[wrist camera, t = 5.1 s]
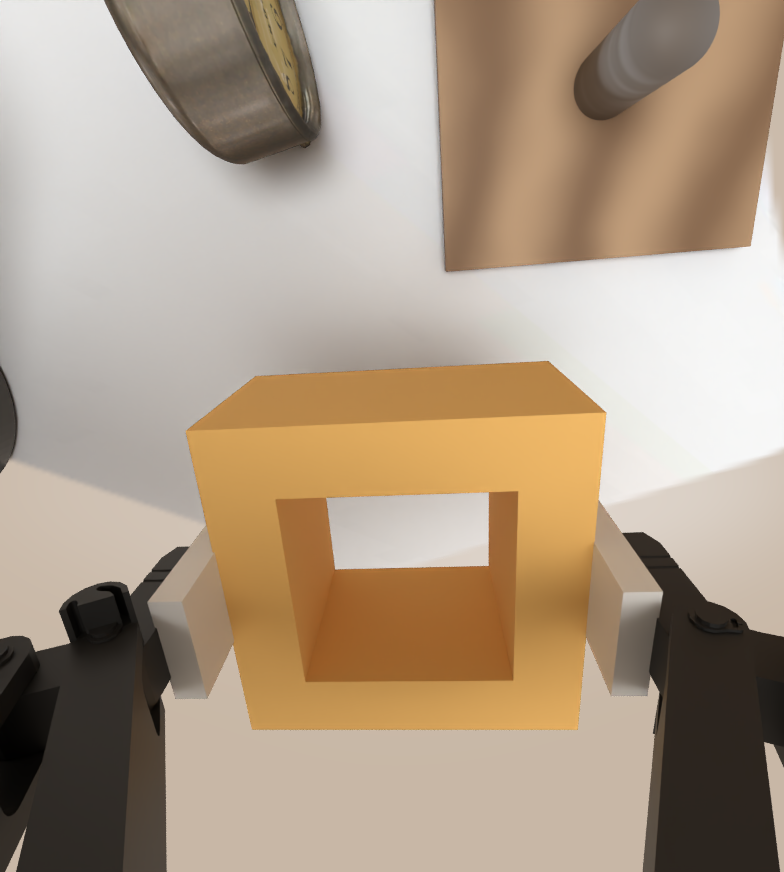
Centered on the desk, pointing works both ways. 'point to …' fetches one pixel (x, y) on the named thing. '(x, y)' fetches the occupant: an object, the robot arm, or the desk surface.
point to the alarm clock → (227, 71)
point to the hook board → (602, 126)
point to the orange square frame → (405, 587)
